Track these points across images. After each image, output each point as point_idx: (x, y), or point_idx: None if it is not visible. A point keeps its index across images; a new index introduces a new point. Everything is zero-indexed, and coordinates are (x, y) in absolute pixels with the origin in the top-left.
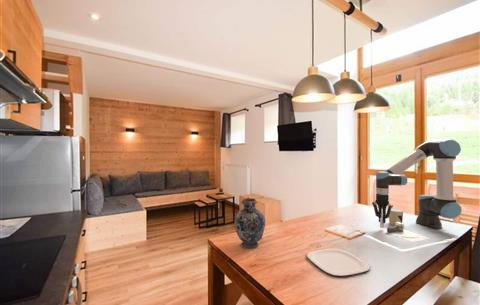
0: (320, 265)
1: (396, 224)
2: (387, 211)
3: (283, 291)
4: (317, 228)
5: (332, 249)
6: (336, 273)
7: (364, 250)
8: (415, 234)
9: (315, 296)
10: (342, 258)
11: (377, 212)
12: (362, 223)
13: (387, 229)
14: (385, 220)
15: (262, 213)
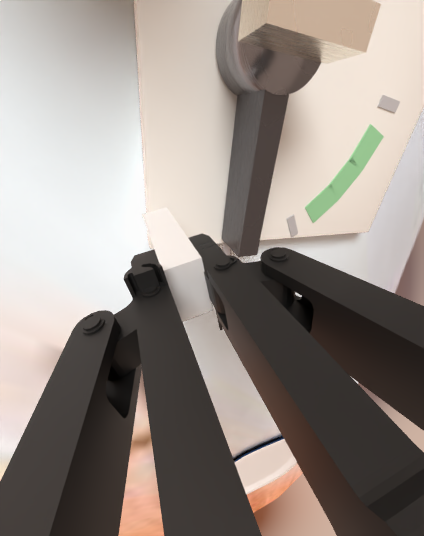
0: (260, 486)
1: (261, 42)
2: (404, 404)
3: (268, 500)
4: None
5: None
6: (288, 469)
7: (261, 412)
8: (379, 12)
9: (293, 479)
10: (260, 457)
11: (90, 395)
12: None
13: (234, 248)
14: (219, 248)
15: None
